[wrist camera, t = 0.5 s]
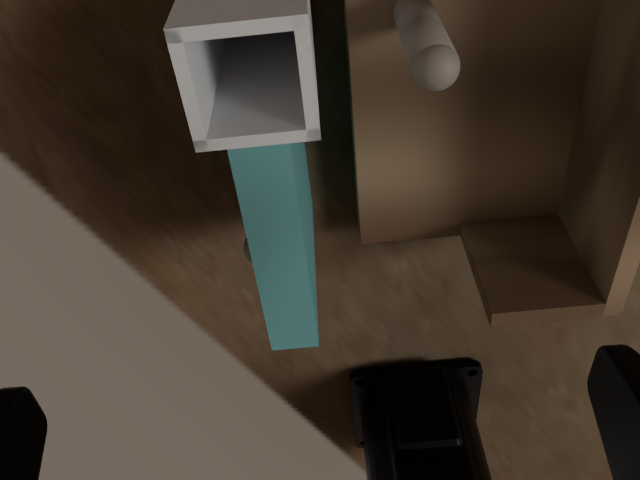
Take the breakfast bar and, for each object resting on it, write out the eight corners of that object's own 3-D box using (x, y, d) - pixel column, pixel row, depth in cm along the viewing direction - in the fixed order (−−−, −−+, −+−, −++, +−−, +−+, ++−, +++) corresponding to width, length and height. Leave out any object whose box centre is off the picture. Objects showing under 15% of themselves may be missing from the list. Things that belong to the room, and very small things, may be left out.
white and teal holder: (330, 201, 23) (342, 344, 18) (255, 209, 23) (245, 352, 18) (302, -78, 17) (307, 13, 12) (199, -67, 17) (158, 29, 12)
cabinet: (557, 200, 24) (621, 315, 19) (357, 219, 24) (373, 337, 19) (622, -122, 17) (750, -63, 12) (337, -91, 17) (354, -20, 12)
